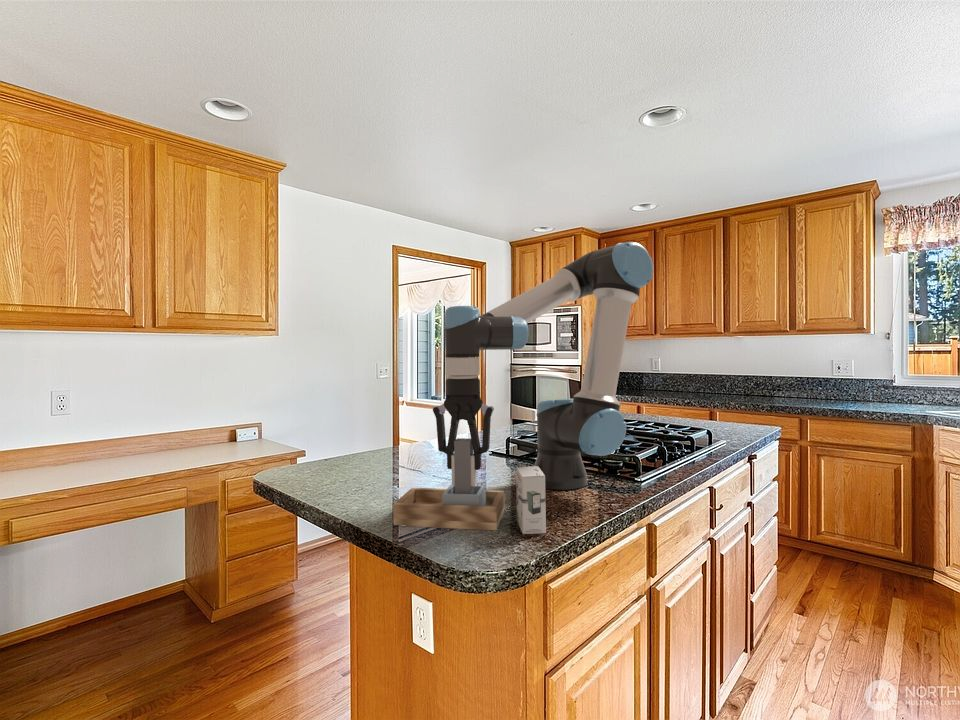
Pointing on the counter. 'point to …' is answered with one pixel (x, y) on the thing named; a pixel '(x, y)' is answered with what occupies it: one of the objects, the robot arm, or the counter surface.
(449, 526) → the bay
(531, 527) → the ink box
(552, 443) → the robot arm
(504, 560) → the counter surface
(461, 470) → the grey square-based post
